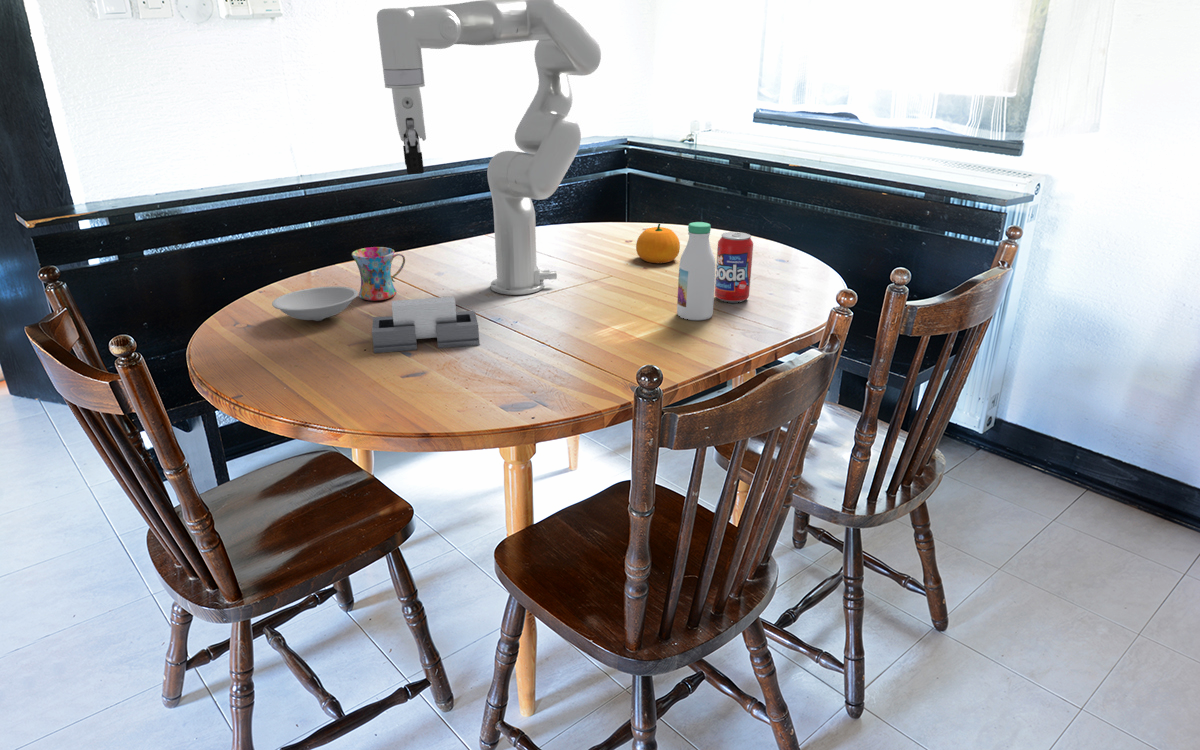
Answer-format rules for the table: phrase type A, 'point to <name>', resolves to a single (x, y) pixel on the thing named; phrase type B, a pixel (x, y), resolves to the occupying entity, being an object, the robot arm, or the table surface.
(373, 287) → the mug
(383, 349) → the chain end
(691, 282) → the milk bottle
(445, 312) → the gray trapezoid plate
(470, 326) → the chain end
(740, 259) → the soda can
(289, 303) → the dish
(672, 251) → the fruit
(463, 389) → the table surface
